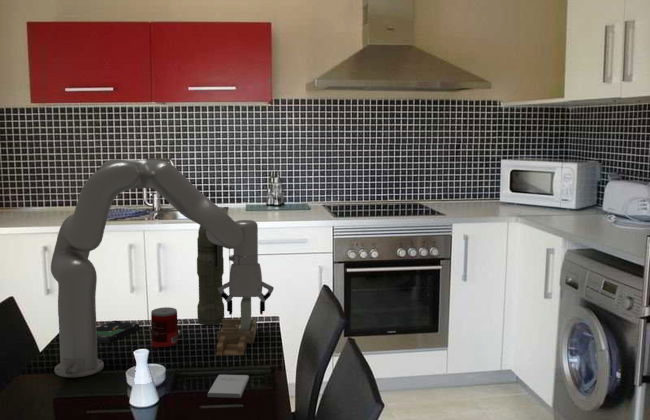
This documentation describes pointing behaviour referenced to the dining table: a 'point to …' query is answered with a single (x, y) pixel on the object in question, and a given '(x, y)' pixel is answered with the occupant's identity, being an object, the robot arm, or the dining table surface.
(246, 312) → the grey-green flat slab
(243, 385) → the external hard drive
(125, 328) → the disk drive
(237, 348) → the stand
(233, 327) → the offcut
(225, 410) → the dining table surface
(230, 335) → the rack
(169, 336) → the canned food
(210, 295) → the thermos
